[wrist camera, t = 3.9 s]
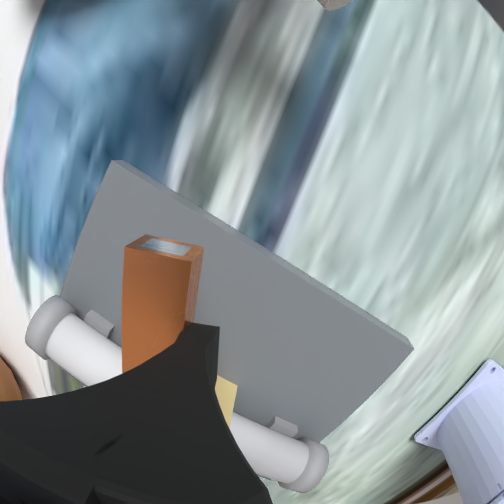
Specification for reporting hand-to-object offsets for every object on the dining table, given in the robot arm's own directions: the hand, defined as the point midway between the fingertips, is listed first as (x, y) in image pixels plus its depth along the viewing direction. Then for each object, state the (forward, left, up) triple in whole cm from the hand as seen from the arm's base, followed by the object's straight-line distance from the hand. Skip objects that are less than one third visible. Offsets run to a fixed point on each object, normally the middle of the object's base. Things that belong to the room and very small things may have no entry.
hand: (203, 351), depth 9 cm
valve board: (-1, +5, -7) cm, 8 cm away
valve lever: (0, +3, 0) cm, 3 cm away
